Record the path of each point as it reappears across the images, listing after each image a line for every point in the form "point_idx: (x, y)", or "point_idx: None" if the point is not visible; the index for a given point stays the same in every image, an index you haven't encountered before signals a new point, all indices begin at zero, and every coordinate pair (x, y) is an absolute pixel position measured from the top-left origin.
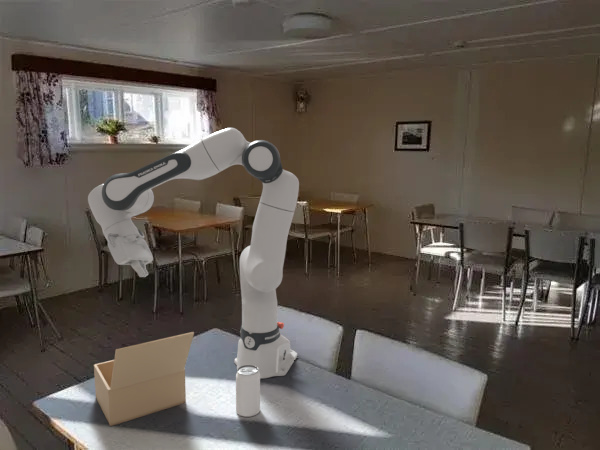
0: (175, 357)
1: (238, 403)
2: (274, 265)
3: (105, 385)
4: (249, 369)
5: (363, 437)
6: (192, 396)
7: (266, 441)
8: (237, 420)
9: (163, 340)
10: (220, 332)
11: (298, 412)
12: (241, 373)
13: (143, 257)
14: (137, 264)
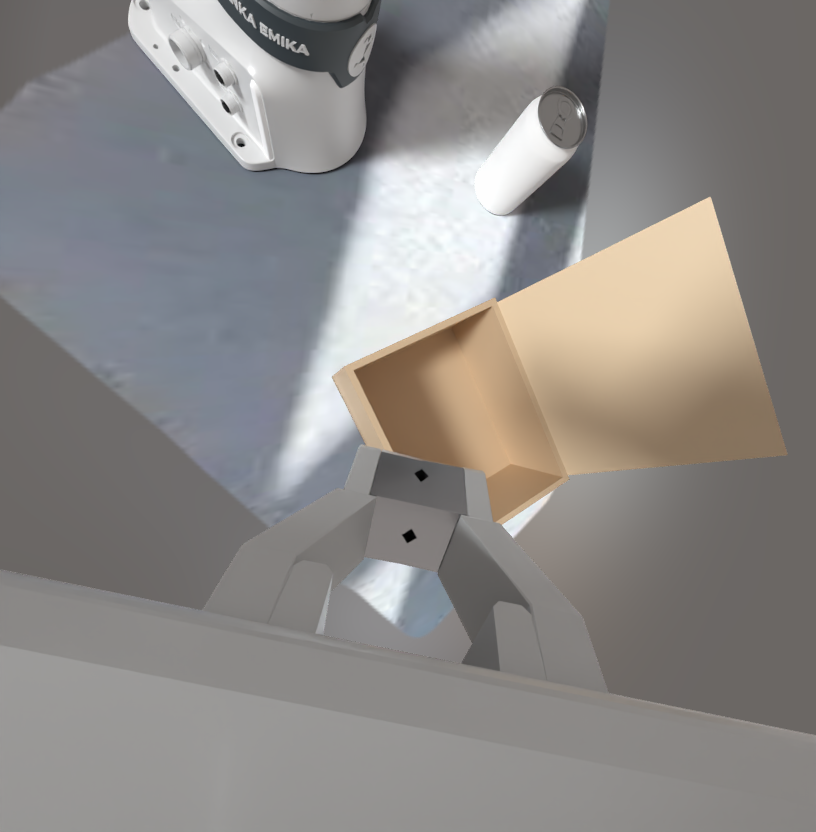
0: (589, 303)
1: (525, 198)
2: None
3: (548, 492)
4: (554, 113)
5: (592, 5)
6: (427, 306)
7: (582, 180)
8: (522, 219)
9: (738, 311)
10: None
11: (512, 87)
12: (571, 141)
13: (230, 674)
14: (572, 627)
